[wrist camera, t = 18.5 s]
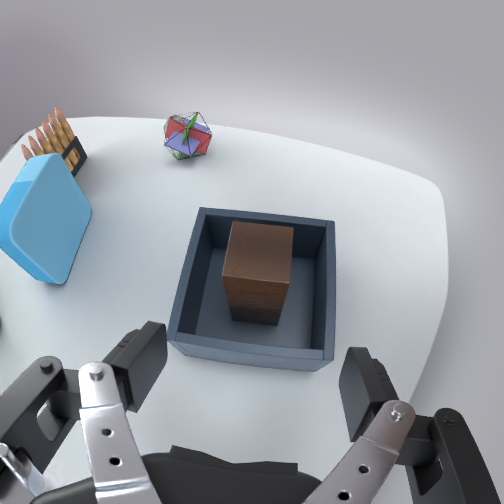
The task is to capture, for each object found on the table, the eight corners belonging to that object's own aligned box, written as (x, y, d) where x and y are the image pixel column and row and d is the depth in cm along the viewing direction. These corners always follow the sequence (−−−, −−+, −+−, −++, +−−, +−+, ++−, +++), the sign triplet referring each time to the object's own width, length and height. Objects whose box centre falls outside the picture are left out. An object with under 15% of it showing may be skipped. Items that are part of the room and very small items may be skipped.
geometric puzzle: (230, 132, 40) (195, 93, 35) (213, 161, 36) (172, 119, 32) (198, 149, 44) (166, 115, 40) (180, 177, 41) (143, 141, 36)
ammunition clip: (80, 157, 42) (55, 103, 32) (87, 156, 42) (62, 101, 32) (50, 203, 37) (14, 150, 26) (58, 204, 37) (21, 148, 26)
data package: (71, 210, 36) (33, 151, 25) (94, 210, 36) (57, 146, 25) (41, 284, 30) (-16, 233, 19) (64, 289, 30) (5, 235, 19)
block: (277, 326, 27) (289, 283, 18) (232, 320, 27) (221, 275, 19) (281, 284, 29) (293, 227, 20) (238, 279, 29) (232, 220, 21)
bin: (320, 257, 32) (334, 220, 26) (315, 371, 25) (333, 360, 19) (208, 245, 32) (199, 206, 27) (184, 355, 26) (165, 339, 20)
